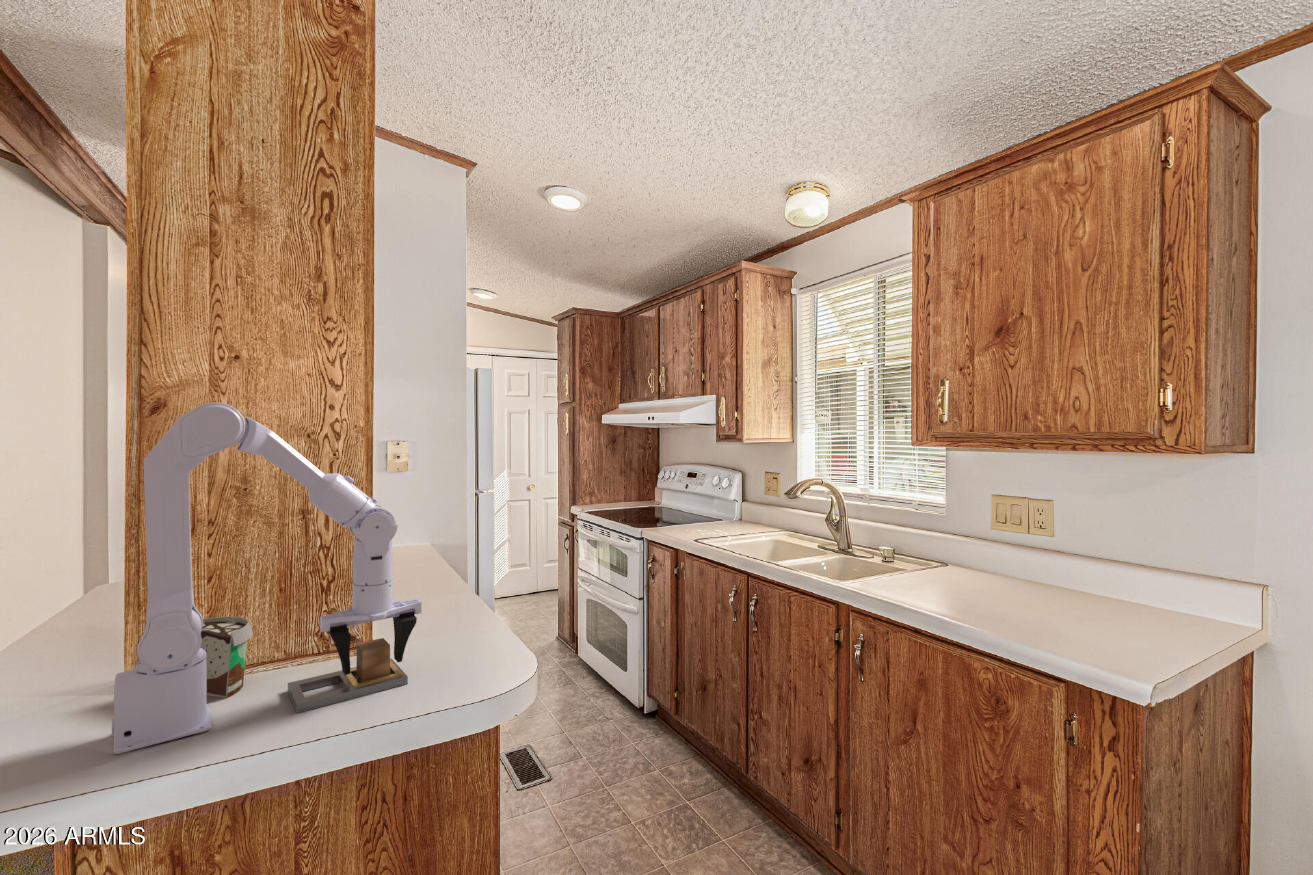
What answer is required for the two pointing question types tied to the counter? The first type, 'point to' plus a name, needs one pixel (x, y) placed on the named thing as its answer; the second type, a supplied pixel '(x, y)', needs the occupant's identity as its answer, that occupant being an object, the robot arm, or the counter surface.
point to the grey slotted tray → (347, 692)
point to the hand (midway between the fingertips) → (372, 666)
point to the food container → (225, 653)
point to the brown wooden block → (372, 660)
